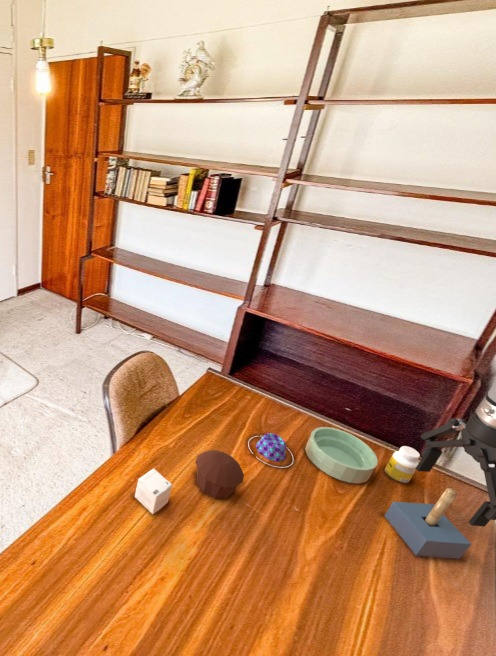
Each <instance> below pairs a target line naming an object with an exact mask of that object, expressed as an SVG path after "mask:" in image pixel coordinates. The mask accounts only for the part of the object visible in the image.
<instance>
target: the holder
mask: <svg viewBox="0 0 496 656" xmlns="http://www.w3.org/2000/svg"><path fill="white" fill-rule="evenodd" d="M434 506H435V504H434V503H421V502H405V501H392V502H391V505H390V506H389V507H388V509H387V511H386V512H385V514H384V517H385V519H386V520H387V521H388V522H389V524H390V525H391V526H392V527H393V529H394V530H395V531H396V533H397V534H398V535H399V536H400V538H401V539H402V540H403V542H405V544H406V545H407V547H409V549H410V550H411V551H412V553H413V554H414V556H418V557H432V558H445V559H458V560H459V559H461V558H462V557H463V556H464V555H465V554H466V552H467V551H468V550H469V548H470V547H471V545H472V543H471V542H470V541H469V540H468V539H467V537H466V536H465V535H464V534H463V533H462V532H461V531H460V530H459V529H458V528H457V527H456V525H454V523H452V521H450V519H449V518H448V517H447V516H446V515H445V513H444V514H443V515H442V516H441V518H440V519H439V521H438V522H437V523H436V525H435V526H434V527H431V526H429V525H428V524H427V523H426V522H425V521H424V520H425V519H426V517H427V516H428V514H429V513H430V511H431V510H432V509H433V507H434Z"/></svg>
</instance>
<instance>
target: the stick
mask: <svg viewBox="0 0 496 656" xmlns="http://www.w3.org/2000/svg"><path fill="white" fill-rule="evenodd" d="M457 496H458V493H457V491H456V490H455V489H454V488H451V487H446V489H444V491H443V492H442V494H441V496H440V497H439V498H438V500H437V502H436V503H435V504H434V505H435V506H434V507H433V509H432V510H431V511H430V513H429V514H428V516H427V517H426V519H425V520H424V521H425V522H426V523H427V524H428V525H429V526H431V527H434V526H435V525H436V523H437V522H438V521H439V519H440V518H441V516H442V515H443V514H444V515H445V512H446V511H447V510H448V508H449V507H450V505H451V504H452V503H453V501H454V500H455V498H456V497H457Z"/></svg>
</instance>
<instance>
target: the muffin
mask: <svg viewBox="0 0 496 656" xmlns="http://www.w3.org/2000/svg"><path fill="white" fill-rule="evenodd" d="M195 465H196V484H197V485H198V486H199V488H200V489H201V491H202V492H203V493H204V494H207V495H208V496H210V497H212V498H214V499H224V500H226V499H227V498H228V497H229V496H230V495H232V494H233V493H234V492H235V490H236V488H237V487H238V486H240V485H241V484H242V483H243V482H244V478H245V474H244V471H243V469H242V467H241V465H240V463H239V462H238V460H236V459H235V458H234V457H233V456H231V455H230V454H228V453H226V452H224V451H221V450H218V449H214V450H213V449H212V450H211V449H209V450H205V451H203V452H201V453H199V454H197V456H196V459H195Z"/></svg>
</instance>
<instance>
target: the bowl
mask: <svg viewBox="0 0 496 656" xmlns="http://www.w3.org/2000/svg"><path fill="white" fill-rule="evenodd" d="M304 450H305V452H306V456H307V457H308V459H309V461H311V463H312V464H313V465H315V466H316V467H317V469H319V470H320V471H322V472H323V473H324V474H327V475H328V476H330V477H332V478H335V479H337V480H339V481H342V482H345V483H349V484H363V483H367V482H368V480H369V479H370V478H371V477H372V476H373V474H374V471H375V470H376V468H377V466H378V462H379V460H378V459H379V458H378V457H377V454H376V452H375V451H374V450H373V449H372V448H371V447H370V446H369V445H368V444H367V443H365V442H364V441H363V440H362V439H360V438H358V437H357V436H355V435H353V434H351V433H350V432H347V431H344V430H342V429H339V428H336V427H335V428H334V427H331V426H330V427H329V426H328V427H327V426H320V427H316V428H315V429H313V430H312V431H311V433H310V435H309V437H308V439H307V442H306V444H305V448H304Z"/></svg>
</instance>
